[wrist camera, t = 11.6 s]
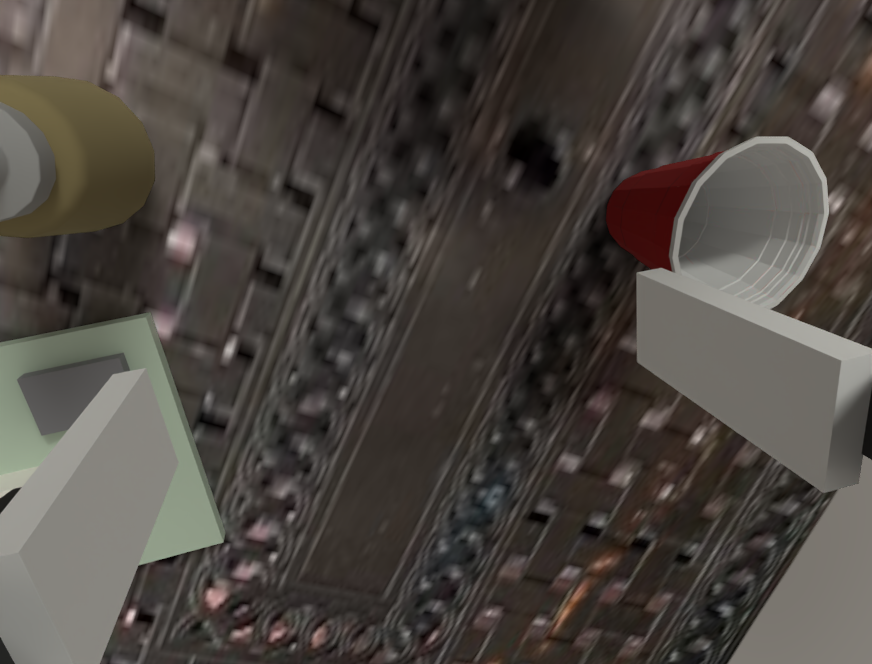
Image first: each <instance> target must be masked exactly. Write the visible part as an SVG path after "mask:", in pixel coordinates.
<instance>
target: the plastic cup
mask: <svg viewBox="0 0 872 664" xmlns="http://www.w3.org/2000/svg"><path fill="white" fill-rule="evenodd" d="M828 214H829V207H828V193H827V179H826V177H825V175H824V173H823V171H822V169H821V167H820V165H819V163H818V162H817V160H816V158H815V156H814V154H813V152H812V151H810V150H809V149H807V148H805V147H804V146H802V145H801V144H799V143H797V142H796V141H794V140H793V139H791V138H789V137H755V138H751V139H749V140H747V141H745V142H743V143H741V144H739V145H737V146H735V147H733V148H731V149H728V150H726V151H723V152H717V153H715V154H713V155H710V156H705V157H701V158H696V159H691V160H687V161H682V162H677V163H673V164H668V165H663V166H661V167H659V168H656V169H652V170H647V171H642V172H640V173H638V174H636V175H633V176H631V177H629V178H627V179H625V180H624V181H623V182H622V183H621V184H620V185H619V186H618V187H617V188H616V189H615V190H614V191H613V194H612V196H611V198H610V200H609V202H608V205H607V213H606V222H607V226H608V229H609V233H610V234H611V236H612V237H613V238H614V239H615V240H616V242H617V243H618V244H619V245H620V246H621V247H622V248H623V249H625V250H626V251H628V252H629V253H631V254H632V255H634V257H635V258H636V259H637V260H639V261H640V262H642V263H643V264H645V265H646V266H647V267H649V268H650V269H658V268H663V269H666V270H668V271H671V272H674V273H676V274H679V275H681V276H684V277H687V278H689V279H692V280H694V281H697V282H700V283H702V284H705V285H707V286H710V287H713V288H715V289H718V290H720V291H723V292H726V293H728V294H731V295H733V296H736V297H739V298H741V299H744V300H746V301H749V302H752V303H754V304H757V305H759V306H762V307H765V308H767V309H771V308H773V307H775V306H777V305H778V304H779V303H780V302H781V301H782V300H783V299H784V298H785V297H786V296H787V295H788V294H789V293H790V292H791V291H792V290H793V289H794V288H795V287H796V286H797V285H798V284H799V283H800V282H801V281H802V279H803V278H804V276H805V274H806V272H807V271H808V269H809V267H810V265H811V263H812V262H813V260H814V258H815V256H816V254H817V253H818V251H819V249H820V247H821V243H822V239H823V234H824V230H825V226H826V222H827V218H828Z"/></svg>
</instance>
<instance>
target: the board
mask: <svg viewBox="0 0 872 664" xmlns="http://www.w3.org/2000/svg"><path fill="white" fill-rule="evenodd" d="M143 368H146V369H147V372H148V375H149V378H150V381H151V384H152V387H153V390H154V393H155V395H156V398H157V401H158V404H159V407H160V410H161V413H162V416H163V419H164V422H165V424H166V427H167V430H168V433H169V436H170V439H171V442H172V445H173V448H174V451H175V453H176V456H177V459H178V462H179V463H178V466H177V468H176V471H175V473H174V476H173V478H172V481H171V484H170V486H169V489H168V491H167V494H166V496H165V499H164V501H163V504H162V506H161V509H160V512H159V514H158V517H157V519H156V522H155V524H154V527H153V529H152V532H151V534H150V537H149V539H148V542H147V545H146V547H145V550H144V552H143V555H142V557H141V560H140V562H139V565H141V564H145V563H149V562H153V561H156V560H160V559H164V558H167V557H171V556H175V555H179V554H182V553H186V552H190V551H194V550H197V549H201V548H205V547H208V546H212V545H216V544H220V543H223V542H224V537H225V530H224V527H223V524H222V521H221V518H220V515H219V512H218V509H217V506H216V503H215V500H214V497H213V494H212V491H211V489H210V486H209V483H208V480H207V477H206V474H205V471H204V468H203V465H202V462H201V459H200V456H199V453H198V450H197V447H196V444H195V442H194V439H193V436H192V433H191V430H190V427H189V424H188V421H187V418H186V415H185V412H184V409H183V406H182V403H181V400H180V398H179V395H178V392H177V389H176V386H175V383H174V380H173V377H172V374H171V371H170V368H169V365H168V362H167V359H166V356H165V353H164V351H163V348H162V345H161V342H160V339H159V336H158V333H157V330H156V327H155V324H154V321H153V318H152V315H151V312H149V313H144V314H139V315H134V316H129V317H124V318H119V319H114V320H109V321H104V322H99V323H94V324H89V325H84V326H79V327H74V328H69V329H64V330H60V331H55V332H50V333H45V334H40V335H35V336H30V337H25V338H20V339H15V340H10V341H5V342H0V498H1V497H3V496H4V495H5V494H7V493H8V492H9V491H11V490H12V489H15V488H20V487H22V486H23V485H24V484H25V483H26V482H27V480H28V479H29V478H30V477H31V475H32V474H33V473H34V472H35V470H36V469H37V468H38V467H39V465H40V464H41V463H42V462H43V460H44V459H45V458H46V457H47V456H48V454H49V453H50V452H51V451H52V449H53V448H54V447H55V446H56V444H57V443H58V442H59V441H60V439H61V438H62V437H63V436H64V434H65V433H66V432H67V431H68V430H69V428H70V427H71V426H72V425H73V423H74V422H75V421H76V420H77V418H78V417H79V416H80V415H81V413H82V412H83V411H84V410H85V408H86V407H87V406H88V405H89V404H90V402H91V401H92V400H93V399H94V397H95V396H96V395H97V394H98V392H99V391H100V390H101V389H102V387H103V386H104V385H105V384H106V382H107V381H108V380H109V379H110V378H111V376H112V375H113V374H117V373H122V372H128V371H133V370H138V369H143Z"/></svg>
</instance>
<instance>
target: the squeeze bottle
mask: <svg viewBox="0 0 872 664" xmlns="http://www.w3.org/2000/svg"><path fill="white" fill-rule="evenodd" d="M154 181H155V160H154V149H153V147H152V145H151V142H150V140H149V138H148V136H147V133H146V131H145V129H144V126H143V124H142V122H141V121H140V120H139V119H138V118H137V117H136V116H135V115H134V113H133V112H132V111H131V110H130V109H129V108H128V107H127V106H126V105H125V104H124V103H123V102H122V101H121V100H120V99H119V98H118V97H117V96H115V95H113V94H111V93H109V92H107V91H105V90H103V89H101V88H100V87H98V86H96V85H94V84H92V83H90V82H88V81H82V80H75V79H68V78H61V77H54V76H18V75H0V236H8V237H21V238H33V237H43V236H54V235H64V234H74V233H84V232H95V231H98V230H102V229H105V228H108V227H112V226H115V225H119V224H122V223H124V222H125V221H126V220H127V219H128V218H130V217H131V216H132V215H133V214H134V213H136V212H137V211H138V210H139V209H140V208H141V207H143V206H144V204H145V202H146V199H147V197H148V195H149V193H150V190H151V188H152V186H153V184H154Z"/></svg>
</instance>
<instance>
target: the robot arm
mask: <svg viewBox="0 0 872 664" xmlns="http://www.w3.org/2000/svg"><path fill="white" fill-rule="evenodd" d="M636 280H637V362H638V363H639V364H641V365H642V366H643V367H645V368H646V369H648V370H649V371H651V372H652V373H653V374H655V375H656V376H658V377H659V378H661V379H662V380H663V381H665V382H666V383H668V384H669V385H670V386H672V387H673V388H675V389H676V390H678V391H679V392H680V393H682V394H683V395H685V396H686V397H688V398H689V399H690V400H692V401H693V402H695V403H696V404H698V405H699V406H700V407H702V408H703V409H705V410H706V411H708V412H709V413H710V414H712V415H713V416H715V417H716V418H718V419H719V420H720V421H722V422H723V423H725V424H726V425H728V426H729V427H730V428H732V429H733V430H735V431H736V432H738V433H739V434H740V435H742V436H743V437H745V438H746V439H748V440H749V441H750V442H752V443H753V444H755V445H756V446H757V447H759V448H760V449H762V450H763V451H765V452H766V453H767V454H769V455H770V456H772V457H773V458H775V459H776V460H777V461H779V462H780V463H782V464H783V465H785V466H786V467H787V468H789V469H790V470H792V471H793V472H795V473H796V474H797V475H799V476H800V477H802V478H803V479H805V480H806V481H807V482H809V483H810V484H812V485H813V486H815V487H816V488H817V489H819V490H820V491H822V492H823V493H825V492H829V491H833V490H836V489H840V488H844V487H847V486H851V485H855V484H858V483H859V477H860V471H861V465H862V458H863V455H865V456H867V457H868V458H870V459H871V460H872V349H871V348H868V347H866V346H863V345H861V344H858V343H855V342H853V341H850V340H848V339H845V338H842V337H840V336H837V335H835V334H832V333H829V332H827V331H824V330H822V329H819V328H816V327H814V326H811V325H809V324H806V323H803V322H801V321H798V320H796V319H793V318H790V317H788V316H785V315H783V314H780V313H777V312H775V311H772V310H770V309H767V308H765V307H762V306H759V305H757V304H754V303H752V302H749V301H746V300H744V299H741V298H739V297H736V296H733V295H731V294H728V293H726V292H723V291H720V290H718V289H715V288H713V287H710V286H707V285H705V284H702V283H700V282H697V281H694V280H692V279H689V278H687V277H684V276H681V275H679V274H676V273H674V272H671V271H668V270H666V269H663V268H658V269H652V270H647V271H642V272H637V273H636ZM178 463H179V462H178V459H177V456H176V453H175V451H174V448H173V445H172V442H171V439H170V436H169V433H168V430H167V427H166V424H165V422H164V419H163V416H162V413H161V410H160V407H159V404H158V401H157V398H156V395H155V393H154V390H153V387H152V384H151V381H150V378H149V375H148V372H147V369H146V368H143V369H138V370H133V371H128V372H122V373H117V374H113V375H112V376H111V378H110V379H109V380H108V381H107V382H106V384H105V385H104V386H103V387H102V389H101V390H100V391H99V392H98V394H97V395H96V396H95V397H94V399H93V400H92V401H91V402H90V404H89V405H88V406H87V407H86V408H85V410H84V411H83V412H82V413H81V415H80V416H79V417H78V418H77V420H76V421H75V422H74V423H73V425H72V426H71V427H70V428H69V430H68V431H67V432H66V433H65V434H64V436H63V437H62V438H61V439H60V441H59V442H58V443H57V444H56V446H55V447H54V448H53V449H52V451H51V452H50V453H49V454H48V456H47V457H46V458H45V459H44V460H43V462H42V463H41V464H40V465H39V467H38V468H37V469H36V470H35V472H34V473H33V474H32V475H31V477H30V478H29V479H28V480H27V482H26V483H25V484H24V485H23V486H22V487H20V488H15V489H12V490H11V491H9V492H8V493H7V494H5V495H4V496H3V497H1V498H0V664H100V661H101V659H102V656H103V654H104V651H105V649H106V646H107V644H108V641H109V639H110V636H111V633H112V631H113V628H114V626H115V623H116V621H117V618H118V616H119V613H120V611H121V608H122V606H123V603H124V600H125V598H126V595H127V593H128V590H129V588H130V585H131V583H132V580H133V578H134V575H135V572H136V570H137V567H138V565H139V562H140V560H141V557H142V555H143V552H144V550H145V547H146V545H147V542H148V539H149V537H150V534H151V532H152V529H153V527H154V524H155V522H156V519H157V517H158V514H159V512H160V509H161V506H162V504H163V501H164V499H165V496H166V494H167V491H168V489H169V486H170V484H171V481H172V478H173V476H174V473H175V471H176V468H177V466H178Z"/></svg>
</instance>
